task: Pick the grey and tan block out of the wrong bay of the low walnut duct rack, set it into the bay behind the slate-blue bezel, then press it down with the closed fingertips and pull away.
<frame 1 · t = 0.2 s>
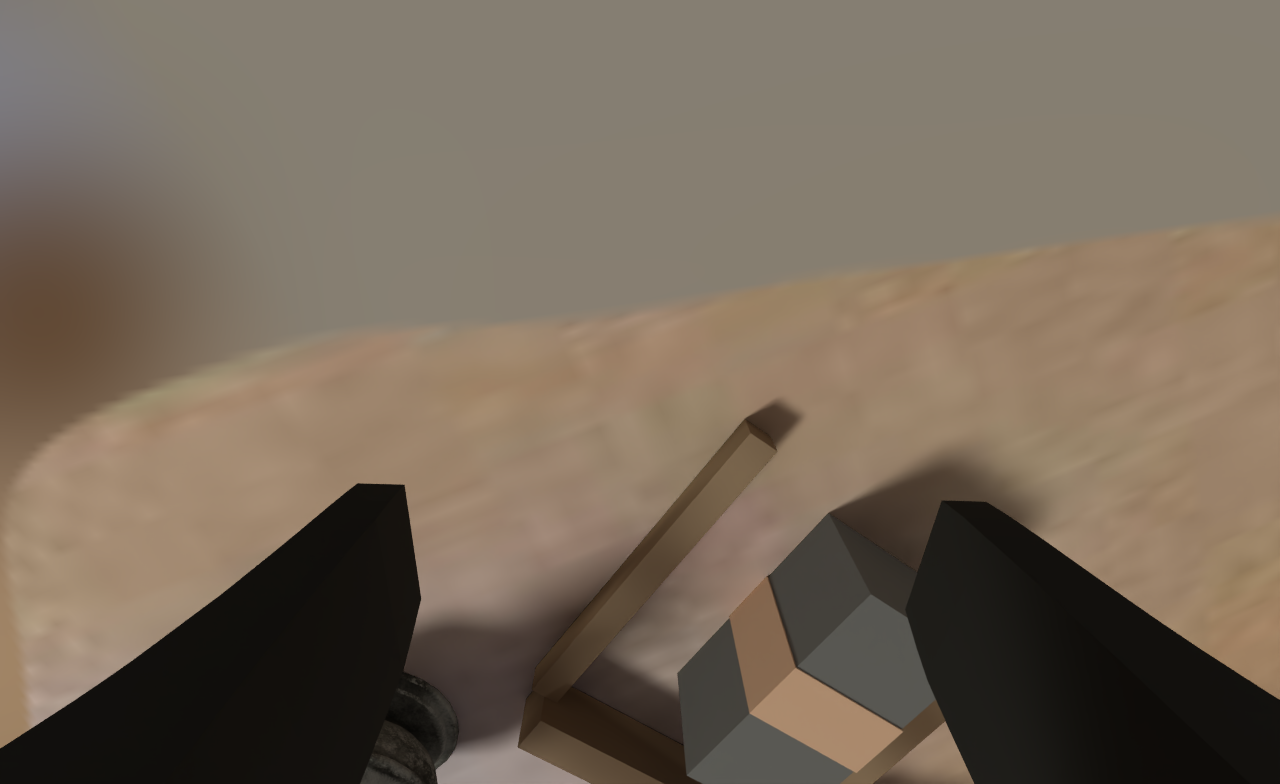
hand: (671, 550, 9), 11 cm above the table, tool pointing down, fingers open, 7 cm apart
grey and tan block: (794, 624, 23), on the table
duct rack: (905, 707, 24), on the table
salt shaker: (387, 720, 24), on the table
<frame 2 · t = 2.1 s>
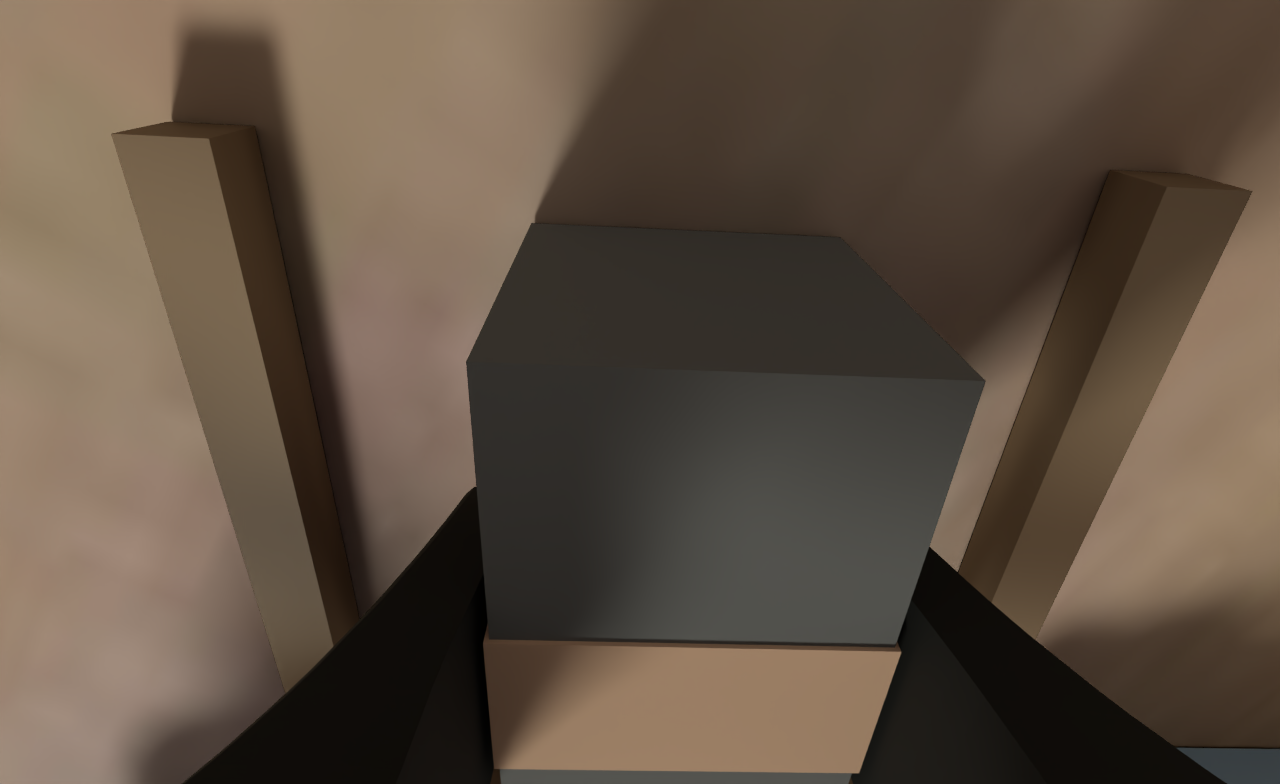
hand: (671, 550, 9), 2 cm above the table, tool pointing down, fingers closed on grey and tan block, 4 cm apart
grey and tan block: (665, 481, 11), on the table, touching gripper
duct rack: (1009, 515, 11), on the table
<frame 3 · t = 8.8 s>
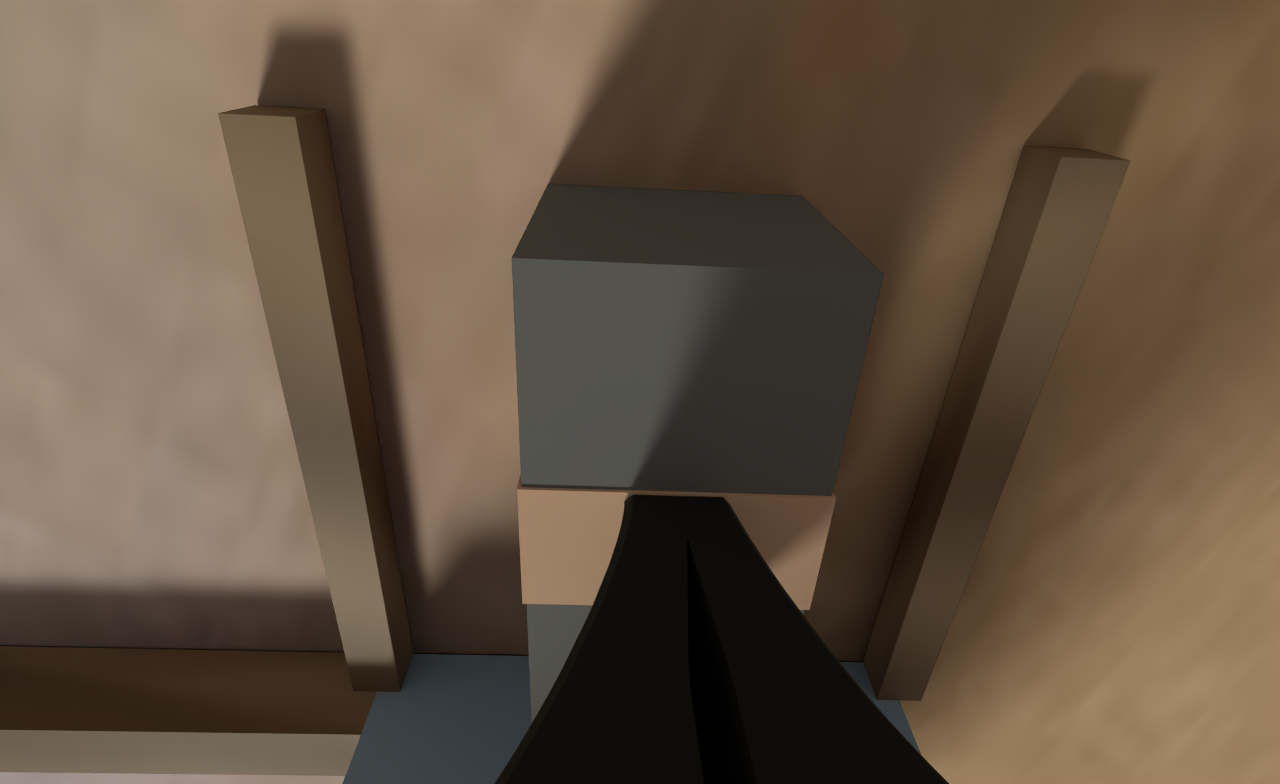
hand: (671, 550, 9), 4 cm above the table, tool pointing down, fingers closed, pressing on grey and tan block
grey and tan block: (659, 404, 13), on the table, touching gripper
duct rack: (349, 427, 12), on the table
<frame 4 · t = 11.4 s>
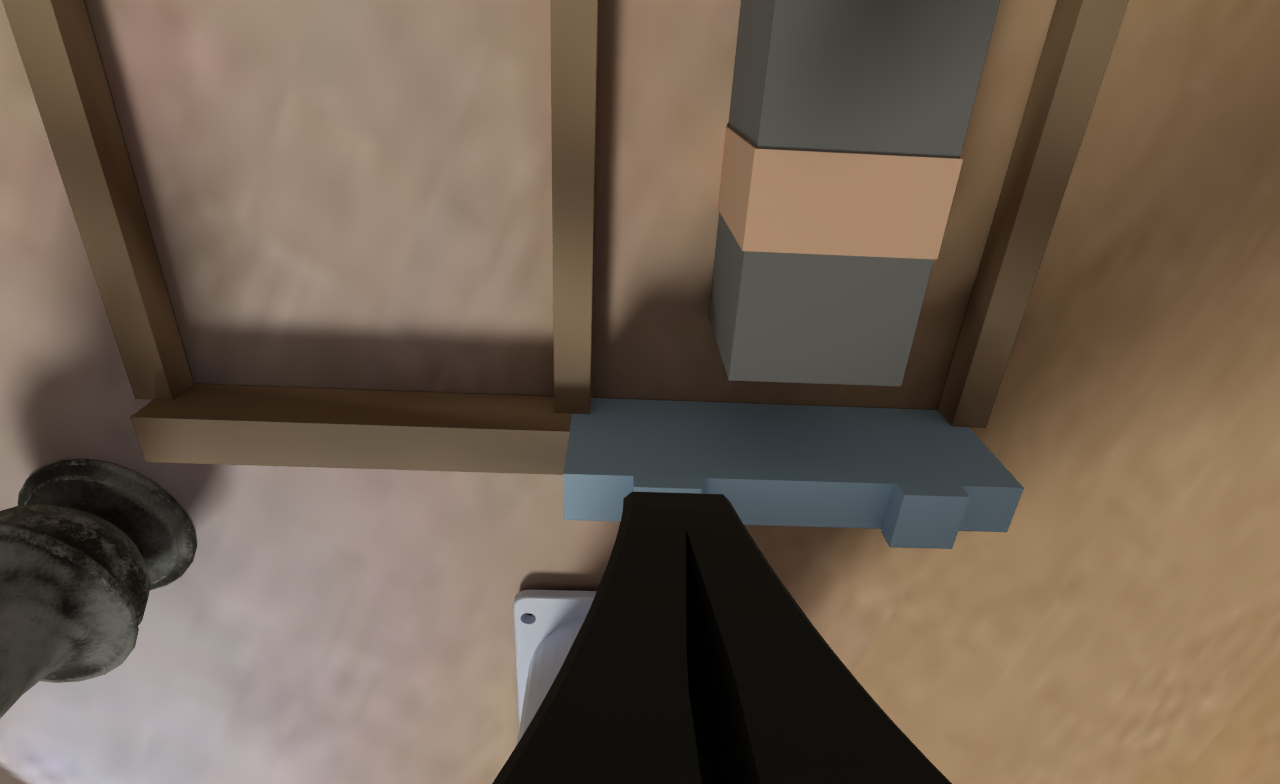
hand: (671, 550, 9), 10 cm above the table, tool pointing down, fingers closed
grey and tan block: (801, 172, 17), on the table
duct rack: (575, 185, 17), on the table
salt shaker: (114, 523, 22), on the table
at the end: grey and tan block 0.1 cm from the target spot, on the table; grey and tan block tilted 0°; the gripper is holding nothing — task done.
